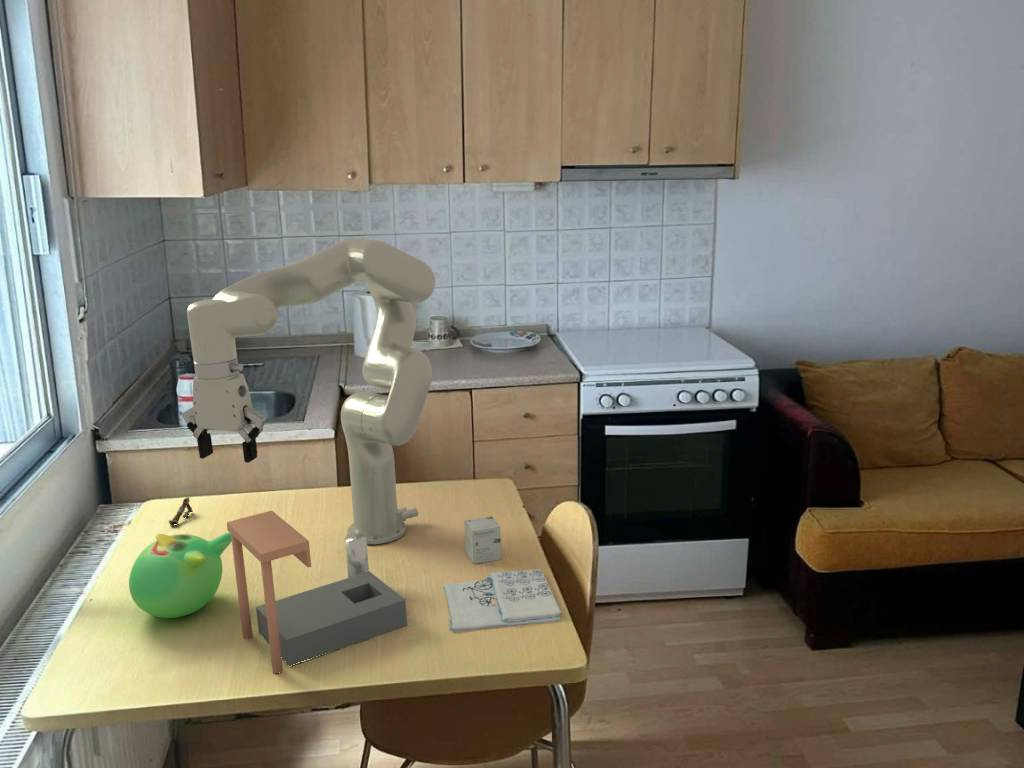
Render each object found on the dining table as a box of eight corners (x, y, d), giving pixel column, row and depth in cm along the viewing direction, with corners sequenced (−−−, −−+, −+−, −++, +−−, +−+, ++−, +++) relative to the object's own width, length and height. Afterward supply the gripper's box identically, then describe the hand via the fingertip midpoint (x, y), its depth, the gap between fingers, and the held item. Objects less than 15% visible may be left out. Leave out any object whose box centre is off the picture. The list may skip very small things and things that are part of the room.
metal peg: (364, 579, 186) (360, 531, 183) (373, 586, 183) (369, 538, 180) (345, 585, 184) (341, 537, 181) (354, 592, 180) (350, 544, 178)
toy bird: (158, 587, 185) (148, 517, 181) (243, 585, 185) (235, 515, 181) (118, 634, 168) (107, 558, 164) (212, 633, 167) (203, 557, 163)
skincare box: (473, 564, 190) (471, 531, 188) (465, 552, 196) (463, 519, 194) (502, 559, 192) (500, 526, 190) (493, 547, 198) (491, 515, 196)
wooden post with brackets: (197, 508, 221) (190, 495, 218) (182, 534, 215) (175, 520, 212) (190, 508, 222) (183, 494, 219) (174, 534, 216) (168, 520, 213)
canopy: (283, 621, 171) (271, 510, 165) (320, 659, 158) (308, 540, 152) (240, 635, 166) (226, 522, 161) (274, 676, 154) (260, 554, 148)
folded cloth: (562, 623, 168) (562, 612, 167) (449, 636, 165) (448, 624, 165) (543, 575, 186) (543, 565, 185) (440, 585, 183) (439, 575, 183)
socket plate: (371, 595, 179) (369, 571, 178) (407, 625, 168) (405, 599, 167) (258, 632, 167) (255, 606, 166) (289, 667, 156) (286, 640, 155)
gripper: (269, 365, 171) (280, 454, 176) (189, 361, 177) (202, 448, 182) (245, 376, 164) (257, 469, 169) (163, 372, 170) (176, 461, 175)
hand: (228, 458), depth 175 cm, fingers open, 9 cm apart
